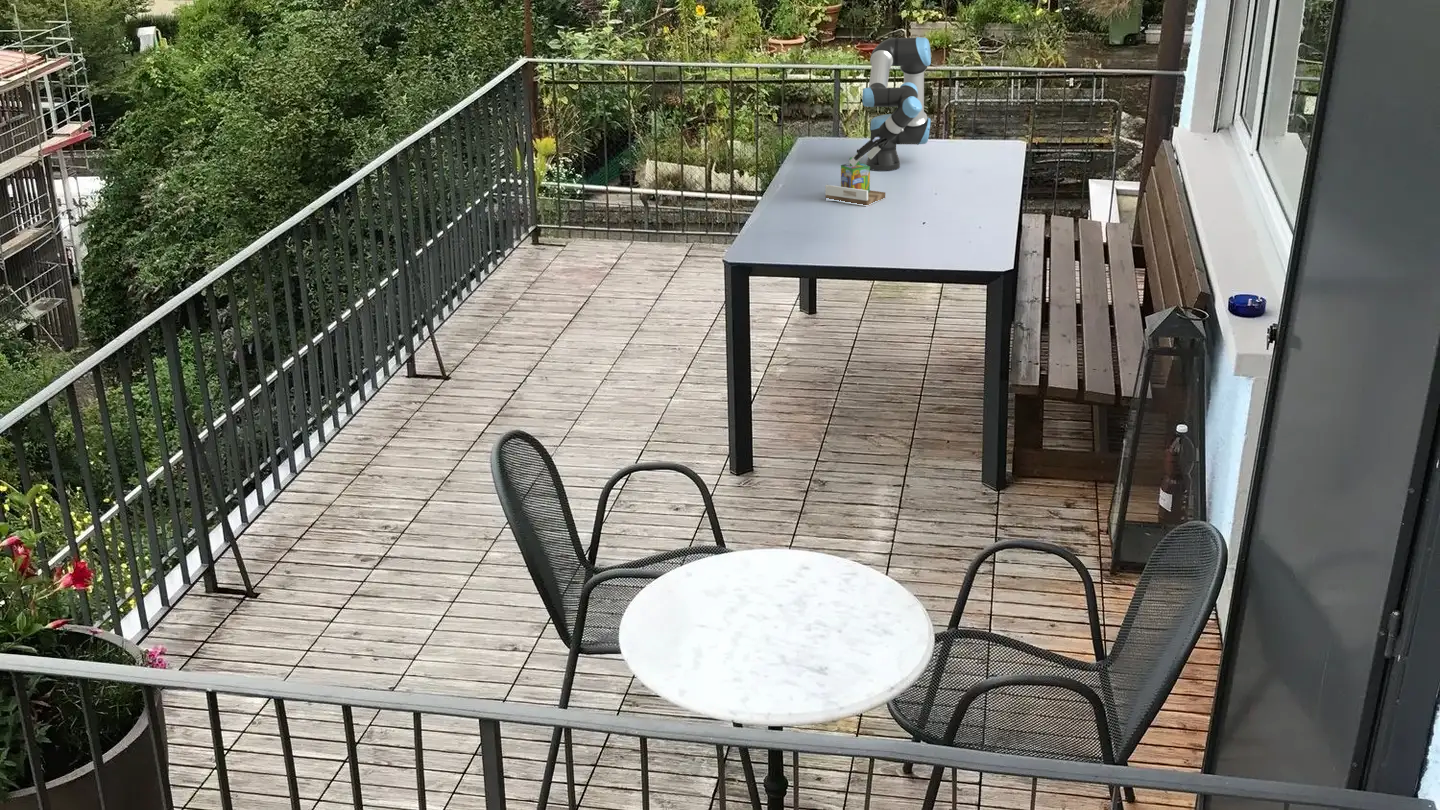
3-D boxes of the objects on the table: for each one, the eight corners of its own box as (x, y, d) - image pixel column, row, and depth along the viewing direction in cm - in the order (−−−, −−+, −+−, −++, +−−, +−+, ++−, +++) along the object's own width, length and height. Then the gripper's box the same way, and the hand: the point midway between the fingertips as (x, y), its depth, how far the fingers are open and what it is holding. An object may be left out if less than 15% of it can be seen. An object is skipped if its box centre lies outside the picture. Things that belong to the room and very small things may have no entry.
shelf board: (844, 192, 577) (844, 177, 574) (885, 198, 566) (885, 183, 563) (825, 200, 566) (825, 185, 563) (866, 206, 554) (866, 191, 552)
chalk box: (852, 196, 561) (852, 161, 555) (840, 191, 568) (839, 157, 563) (870, 192, 565) (870, 157, 559) (858, 188, 572) (858, 153, 566)
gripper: (881, 140, 536) (849, 173, 550) (913, 128, 554) (881, 160, 568) (870, 126, 537) (838, 159, 551) (901, 114, 555) (870, 146, 569)
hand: (860, 160), depth 560 cm, fingers open, 13 cm apart
